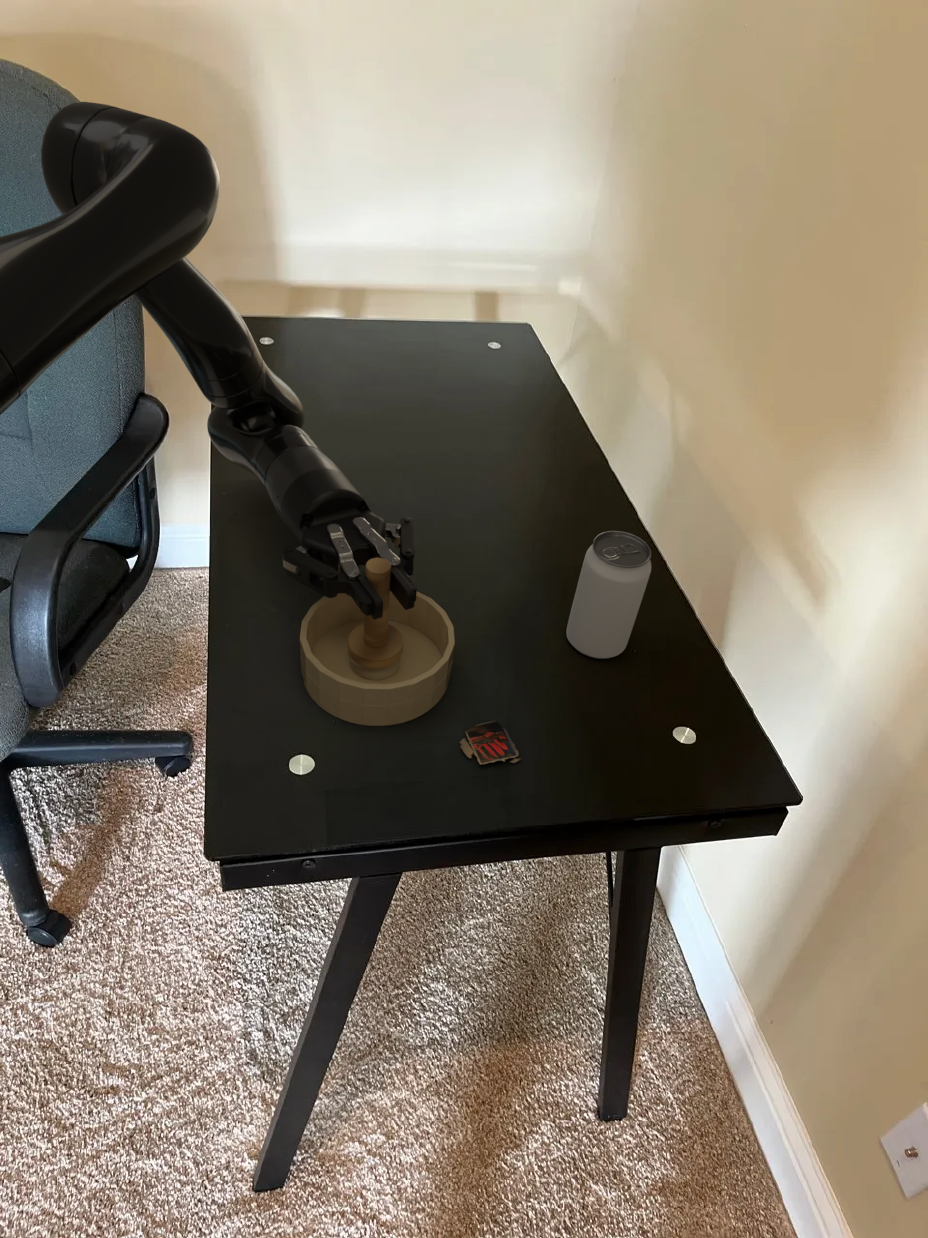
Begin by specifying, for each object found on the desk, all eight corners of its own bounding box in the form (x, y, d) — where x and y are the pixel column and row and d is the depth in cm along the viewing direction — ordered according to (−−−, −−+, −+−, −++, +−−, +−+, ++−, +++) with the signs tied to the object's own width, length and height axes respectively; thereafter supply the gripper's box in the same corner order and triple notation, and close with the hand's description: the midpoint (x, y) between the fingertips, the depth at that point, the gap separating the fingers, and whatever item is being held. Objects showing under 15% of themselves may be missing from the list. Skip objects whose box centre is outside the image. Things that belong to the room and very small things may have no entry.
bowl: (277, 703, 76) (274, 664, 72) (334, 606, 86) (333, 569, 83) (426, 743, 74) (430, 705, 70) (465, 639, 84) (470, 603, 81)
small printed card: (493, 718, 77) (494, 715, 76) (527, 757, 74) (527, 753, 73) (451, 738, 74) (452, 735, 74) (485, 778, 71) (485, 775, 71)
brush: (339, 674, 78) (339, 576, 70) (358, 638, 82) (359, 541, 74) (392, 687, 78) (398, 590, 70) (408, 651, 81) (415, 554, 73)
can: (554, 625, 87) (576, 534, 79) (605, 613, 90) (632, 523, 82) (584, 667, 83) (611, 575, 75) (638, 653, 85) (669, 562, 77)
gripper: (244, 482, 76) (319, 595, 65) (380, 453, 82) (469, 552, 72) (250, 547, 81) (320, 661, 71) (378, 515, 87) (460, 616, 77)
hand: (395, 605), depth 71 cm, fingers closed
